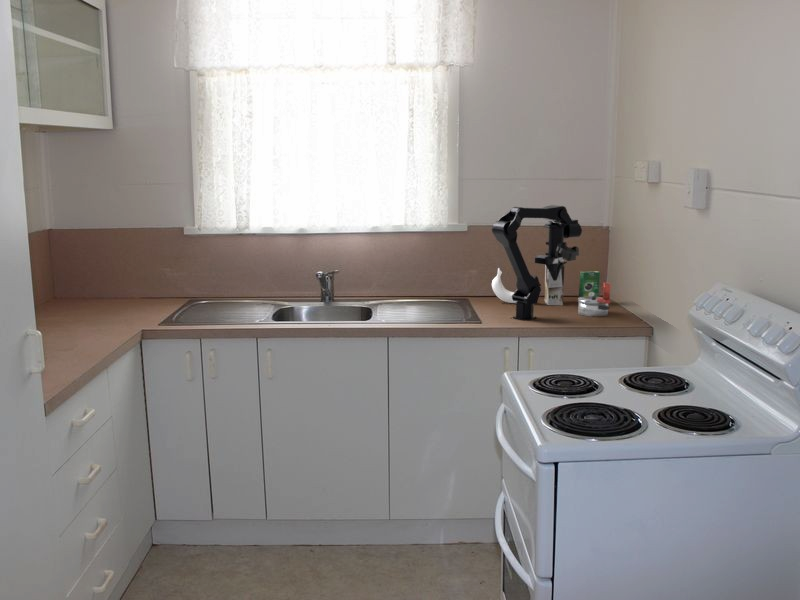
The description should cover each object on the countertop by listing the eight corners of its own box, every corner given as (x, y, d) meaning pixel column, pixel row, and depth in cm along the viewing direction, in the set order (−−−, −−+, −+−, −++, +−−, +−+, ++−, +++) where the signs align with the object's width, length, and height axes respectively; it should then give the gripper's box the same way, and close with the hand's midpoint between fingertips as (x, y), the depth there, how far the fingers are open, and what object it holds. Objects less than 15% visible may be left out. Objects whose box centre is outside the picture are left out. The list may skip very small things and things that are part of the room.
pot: (570, 311, 315) (570, 299, 314) (594, 309, 319) (594, 297, 318) (593, 319, 301) (593, 307, 300) (618, 316, 305) (618, 305, 304)
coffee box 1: (563, 305, 327) (564, 265, 324) (547, 305, 327) (548, 265, 324) (559, 301, 336) (560, 262, 332) (543, 301, 336) (545, 262, 333)
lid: (571, 299, 313) (572, 278, 311) (597, 297, 317) (598, 276, 315) (594, 306, 299) (595, 284, 297) (621, 304, 303) (622, 282, 302)
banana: (538, 305, 328) (539, 269, 325) (491, 304, 330) (491, 268, 327) (538, 302, 332) (539, 267, 330) (491, 301, 335) (492, 266, 332)
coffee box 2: (595, 302, 333) (596, 270, 331) (599, 303, 331) (600, 271, 328) (578, 303, 331) (579, 271, 328) (581, 304, 328) (583, 272, 326)
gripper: (559, 243, 292) (557, 286, 295) (588, 238, 305) (587, 279, 308) (534, 240, 300) (533, 282, 303) (563, 236, 313) (562, 276, 316)
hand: (554, 280), depth 307 cm, fingers closed
